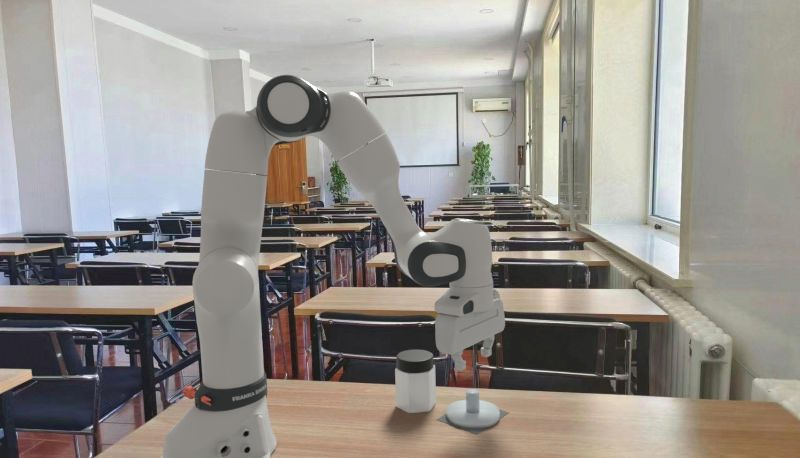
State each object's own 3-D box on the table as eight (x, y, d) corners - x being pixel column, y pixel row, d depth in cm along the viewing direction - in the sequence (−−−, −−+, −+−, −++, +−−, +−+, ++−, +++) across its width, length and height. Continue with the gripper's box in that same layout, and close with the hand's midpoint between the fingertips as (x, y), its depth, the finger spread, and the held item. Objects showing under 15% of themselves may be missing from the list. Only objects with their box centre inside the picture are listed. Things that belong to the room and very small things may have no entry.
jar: (443, 408, 116) (442, 355, 115) (415, 420, 111) (414, 365, 110) (417, 396, 123) (415, 346, 122) (389, 406, 118) (387, 354, 117)
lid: (480, 434, 103) (480, 408, 102) (435, 418, 110) (435, 394, 109) (509, 414, 111) (509, 390, 110) (466, 400, 118) (465, 377, 118)
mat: (476, 438, 103) (476, 434, 103) (436, 423, 109) (436, 419, 109) (508, 416, 112) (508, 412, 111) (469, 403, 118) (469, 400, 118)
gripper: (486, 285, 118) (488, 346, 119) (428, 305, 103) (431, 374, 104) (511, 289, 113) (512, 351, 115) (455, 310, 98) (457, 381, 100)
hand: (473, 362), depth 109 cm, fingers open, 8 cm apart
